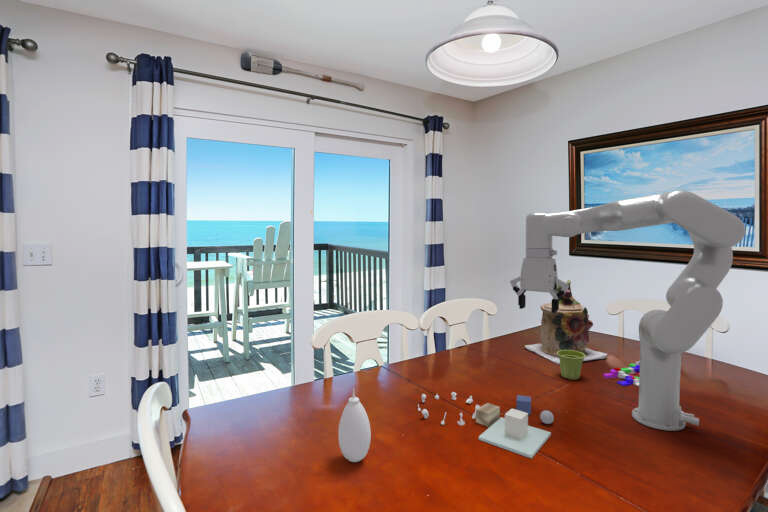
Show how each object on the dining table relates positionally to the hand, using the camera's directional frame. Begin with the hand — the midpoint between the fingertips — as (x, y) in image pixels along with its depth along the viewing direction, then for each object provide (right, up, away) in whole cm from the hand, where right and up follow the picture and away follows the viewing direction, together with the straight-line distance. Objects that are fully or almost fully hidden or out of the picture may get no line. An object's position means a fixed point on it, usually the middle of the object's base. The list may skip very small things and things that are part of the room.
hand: (538, 309), depth 124 cm
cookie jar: (+31, -26, +53) cm, 67 cm away
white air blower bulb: (-54, -33, -25) cm, 68 cm away
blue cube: (-5, -31, -1) cm, 31 cm away
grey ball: (-1, -29, -9) cm, 30 cm away
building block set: (+47, -29, +23) cm, 60 cm away
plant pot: (+22, -28, +26) cm, 44 cm away
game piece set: (-27, -31, +1) cm, 41 cm away
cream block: (-12, -31, -15) cm, 37 cm away
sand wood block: (-17, -31, -7) cm, 36 cm away
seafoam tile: (-12, -32, -16) cm, 37 cm away
